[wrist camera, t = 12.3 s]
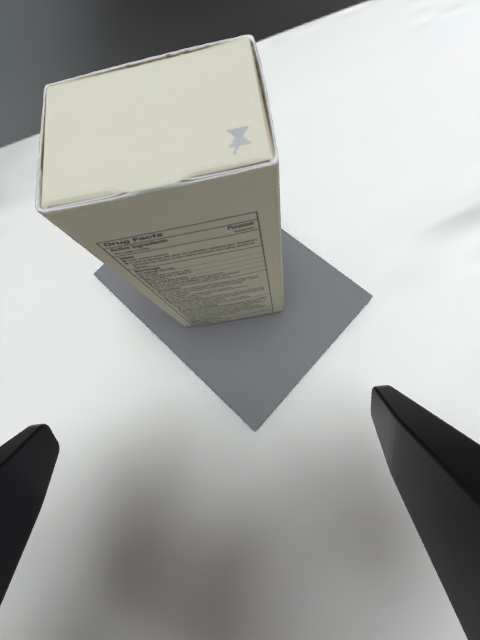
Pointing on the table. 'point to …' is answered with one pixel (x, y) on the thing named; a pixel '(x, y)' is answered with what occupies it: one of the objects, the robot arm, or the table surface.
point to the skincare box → (171, 178)
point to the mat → (258, 333)
